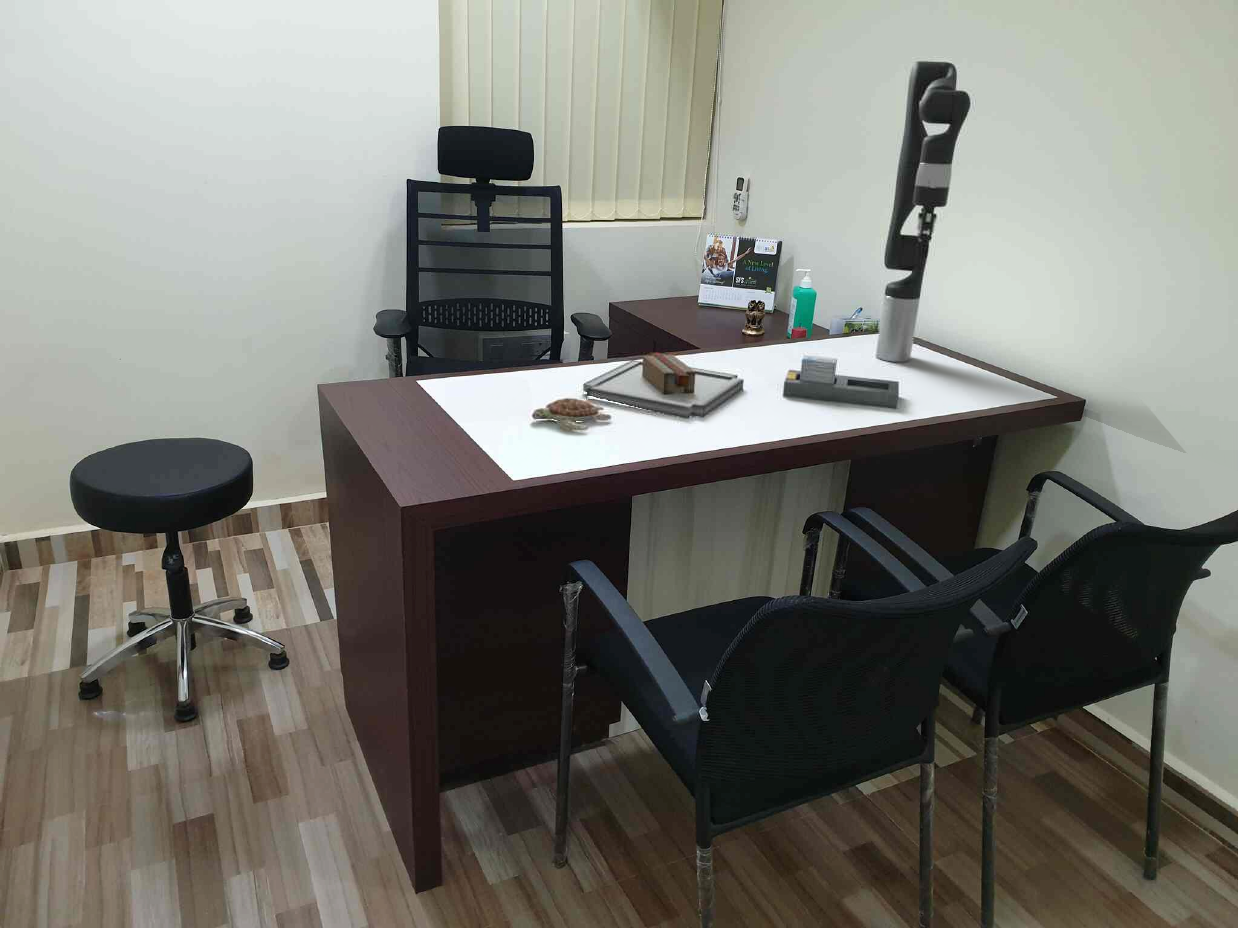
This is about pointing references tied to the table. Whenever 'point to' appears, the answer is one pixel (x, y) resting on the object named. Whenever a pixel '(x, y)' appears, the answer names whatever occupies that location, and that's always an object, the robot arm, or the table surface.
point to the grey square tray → (665, 386)
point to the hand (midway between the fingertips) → (921, 255)
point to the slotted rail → (844, 390)
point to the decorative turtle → (570, 413)
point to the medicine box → (818, 369)
